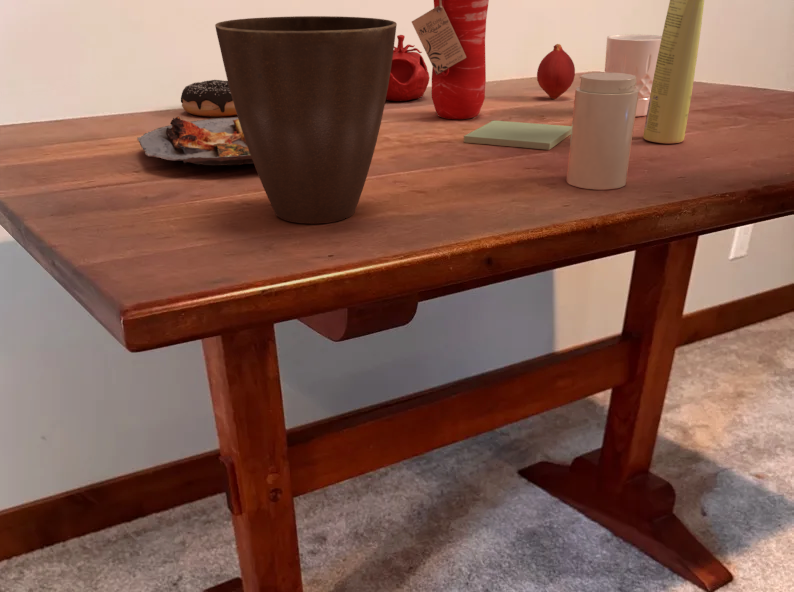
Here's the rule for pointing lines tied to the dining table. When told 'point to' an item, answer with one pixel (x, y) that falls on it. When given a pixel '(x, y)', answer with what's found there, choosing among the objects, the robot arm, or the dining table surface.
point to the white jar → (602, 130)
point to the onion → (556, 72)
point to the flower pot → (309, 106)
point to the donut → (208, 99)
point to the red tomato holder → (407, 74)
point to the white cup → (634, 62)
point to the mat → (519, 134)
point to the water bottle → (456, 55)
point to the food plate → (199, 142)
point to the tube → (674, 73)
